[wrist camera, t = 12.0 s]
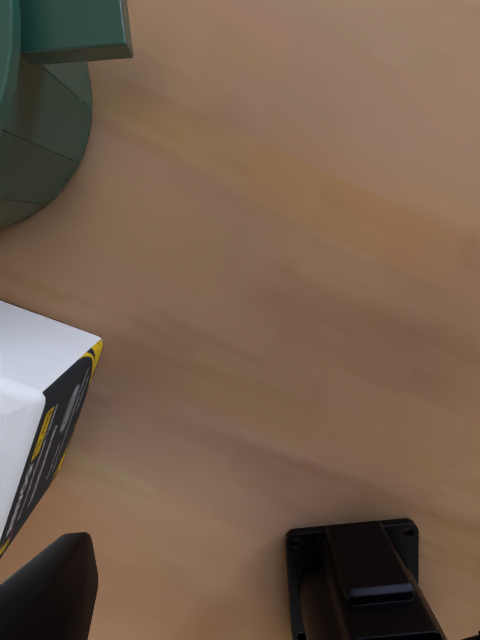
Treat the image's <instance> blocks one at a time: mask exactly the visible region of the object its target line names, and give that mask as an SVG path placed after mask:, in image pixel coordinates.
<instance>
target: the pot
mask: <svg viewBox="0 0 480 640" xmlns="http://www.w3.org/2000/svg"><path fill="white" fill-rule="evenodd" d="M19 5H20V15H21V48H20V61H19V68H18V75H17V82H16V88H15V92H14V96H13V99H12V103H11V106H10V110H9V114H8V117H7V120H6V122H5V125H4V127H3V129H2V132H1V134H0V229H1V228H4V227H6V226H8V225H11V224H15V223H17V222H19V221H22V220H24V219H26V218H28V217H30V216H32V215H33V214H35V213H36V212H38V211H40V210H41V209H43V208H44V207H45V206H46V205H48V204H49V203H50V202H51V201H52V200H53V199H55V198H56V197H57V195H58V194H59V193H60V192H61V191H62V190H63V189H64V187H65V186H66V185H67V184H68V182H69V181H70V179H71V177H72V176H73V174H74V173H75V171H76V169H77V167H78V165H79V163H80V161H81V159H82V156H83V154H84V151H85V147H86V144H87V141H88V137H89V132H90V126H91V118H92V93H91V82H90V77H89V72H88V67H87V63H86V61H98V60H111V59H124V58H132V57H133V50H132V41H131V33H130V24H129V16H128V8H127V0H19Z"/></svg>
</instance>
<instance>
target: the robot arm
mask: <svg viewBox="0 0 480 640" xmlns="http://www.w3.org/2000/svg"><path fill="white" fill-rule="evenodd" d="M407 528H410V529H409V530H408V531H406V532H404V530H405V529H407ZM418 534H419V532H418V528H417V526H416V525H415V523H414V522H413V521H412V520H411V519H406V518H404V519H393V520H383V521H370V522H359V523H349V524H338V525H329V526H318V527H307V528H296V529H292V530H290V531H288V532H287V534H286V536H285V545H286V559H287V574H288V589H289V604H290V618H291V632H292V637H293V640H447V638H446V636H445V634H444V632H443V630H442V628H441V627H440V625H439V623H438V621H437V619H436V617H435V615H434V614H433V612H432V610H431V608H430V606H429V604H428V602H427V600H426V599H425V597H424V595H423V593H422V591H421V589H420V587H419V586H418ZM293 539H300V540H299V541H297V542H292V540H293ZM97 590H98V572H97V566H96V560H95V555H94V549H93V543H92V539H91V537H90V534H88V533H87V532H80V533H69V534H64V535H62V536H61V537H59V538H58V539H57V540H55V541H54V542H53V543H52V544H50V545H49V546H48V547H47V548H45V549H44V550H43V551H42V552H40V553H39V554H38V555H37V556H35V557H34V558H33V559H32V560H30V561H29V562H28V563H27V564H25V565H24V566H23V567H22V568H20V569H19V570H18V571H17V572H15V573H14V574H13V575H12V576H10V577H9V578H8V579H7V580H5V581H4V582H3V583H2V584H0V640H87V639H88V634H89V629H90V625H91V620H92V615H93V610H94V605H95V600H96V595H97ZM301 632H304V633H301ZM478 633H479V635H476V636H472V637H469V638H465V639H462V640H480V631H479V632H478Z"/></svg>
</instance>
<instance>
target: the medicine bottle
mask: <svg viewBox="0 0 480 640" xmlns="http://www.w3.org/2000/svg"><path fill="white" fill-rule="evenodd" d="M102 347H103V341H102V339H101V338H100V337H98V336H96V335H93V334H91V333H88V332H85V331H82V330H80V329H77V328H74V327H71V326H69V325H66V324H63V323H61V322H58V321H55V320H52V319H50V318H47V317H44V316H41V315H39V314H36V313H33V312H30V311H28V310H25V309H22V308H19V307H17V306H14V305H11V304H9V303H6V302H3V301H0V558H1V557H2V555H3V554H4V552H5V551H6V549H7V548H8V546H9V545H10V543H11V542H12V540H13V539H14V538H15V536H16V535H17V533H18V532H19V530H20V529H21V527H22V526H23V524H24V523H25V521H26V520H27V518H28V517H29V515H30V514H31V512H32V511H33V509H34V508H35V506H36V505H37V503H38V502H39V500H40V499H41V497H42V496H43V495H44V493H45V492H46V490H47V489H48V487H49V486H50V484H51V483H52V481H53V480H54V478H55V477H56V475H57V474H58V472H59V471H60V468H61V465H62V462H63V459H64V456H65V454H66V451H67V448H68V445H69V442H70V439H71V436H72V434H73V431H74V428H75V425H76V422H77V419H78V416H79V413H80V411H81V408H82V405H83V402H84V399H85V396H86V393H87V390H88V388H89V385H90V382H91V379H92V376H93V373H94V370H95V367H96V365H97V362H98V359H99V356H100V353H101V350H102Z"/></svg>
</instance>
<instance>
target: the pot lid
mask: <svg viewBox="0 0 480 640" xmlns="http://www.w3.org/2000/svg"><path fill="white" fill-rule="evenodd" d="M20 48H21V15H20V5H19V0H0V134H1V132H2V129H3V127H4V125H5V122H6V120H7V117H8V114H9V110H10V106H11V103H12V99H13V96H14V92H15V88H16V82H17V75H18V68H19V61H20Z"/></svg>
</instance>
